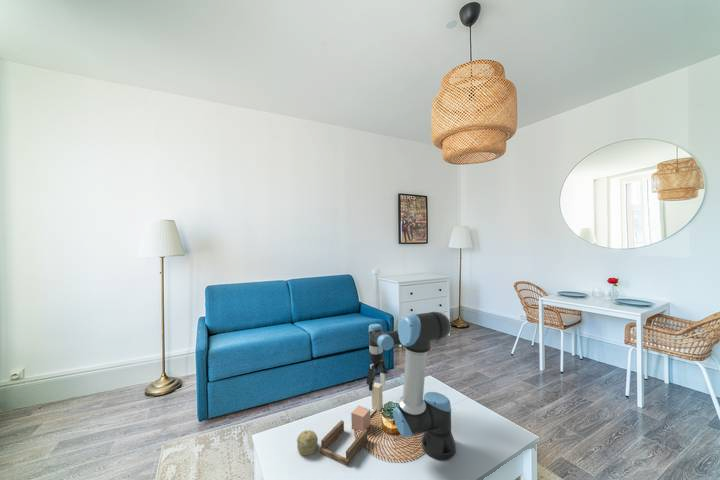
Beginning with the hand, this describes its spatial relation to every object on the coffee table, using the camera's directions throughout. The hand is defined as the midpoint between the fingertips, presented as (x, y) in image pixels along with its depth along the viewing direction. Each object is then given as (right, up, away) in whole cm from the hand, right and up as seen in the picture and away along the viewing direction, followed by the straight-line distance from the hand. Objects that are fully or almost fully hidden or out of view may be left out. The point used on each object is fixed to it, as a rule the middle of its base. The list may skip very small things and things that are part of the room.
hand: (377, 389), depth 157 cm
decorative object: (-34, -12, -29) cm, 46 cm away
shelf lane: (-17, -11, -28) cm, 34 cm away
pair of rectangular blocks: (-5, -11, -8) cm, 14 cm away
